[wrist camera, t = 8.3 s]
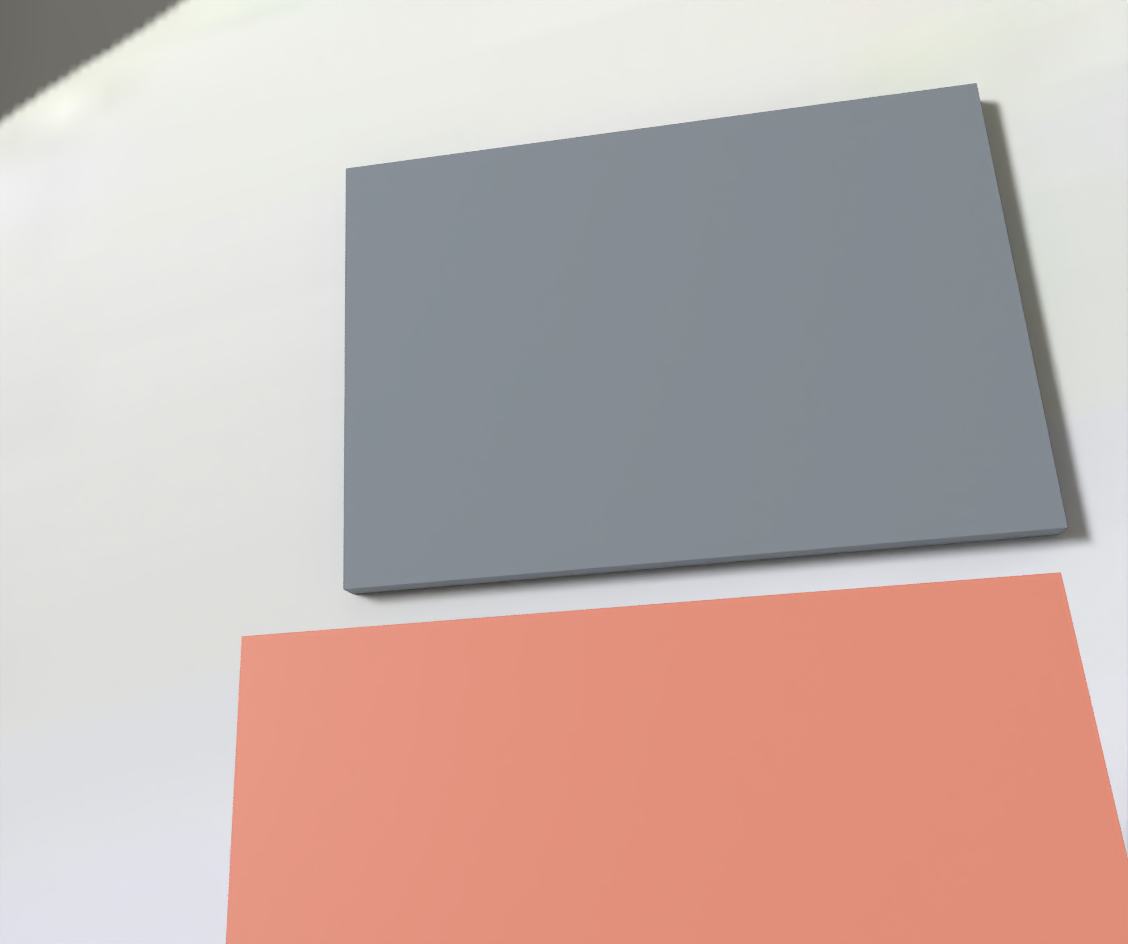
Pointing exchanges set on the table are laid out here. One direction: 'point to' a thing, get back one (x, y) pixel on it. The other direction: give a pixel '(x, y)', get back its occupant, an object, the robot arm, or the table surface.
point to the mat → (688, 349)
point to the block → (682, 776)
